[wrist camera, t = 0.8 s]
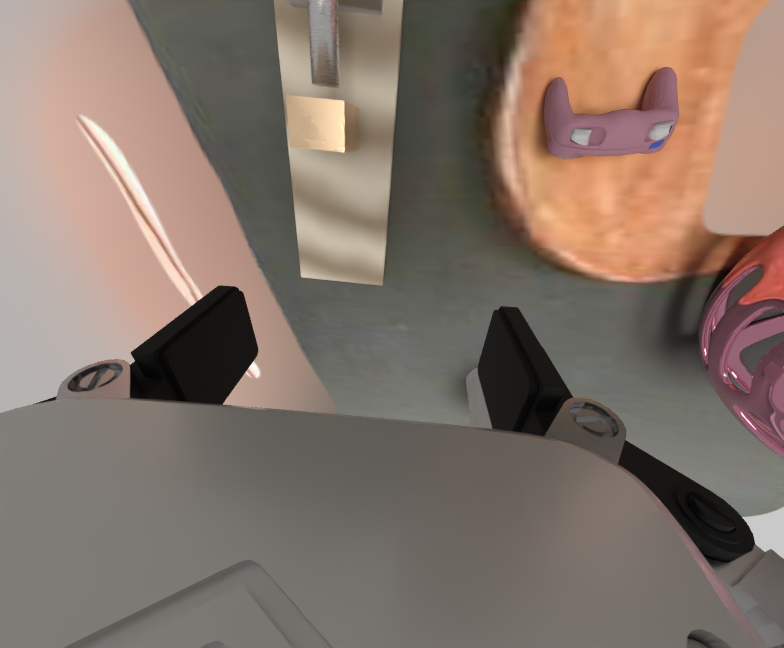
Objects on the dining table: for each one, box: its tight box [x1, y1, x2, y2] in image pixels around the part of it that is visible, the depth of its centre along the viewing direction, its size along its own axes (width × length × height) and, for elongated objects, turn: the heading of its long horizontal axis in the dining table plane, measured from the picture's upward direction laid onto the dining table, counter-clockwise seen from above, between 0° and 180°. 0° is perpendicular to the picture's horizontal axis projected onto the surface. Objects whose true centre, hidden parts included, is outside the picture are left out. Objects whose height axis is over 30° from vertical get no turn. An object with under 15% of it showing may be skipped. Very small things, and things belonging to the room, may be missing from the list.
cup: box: [466, 367, 492, 429], centre depth 39 cm, size 8×8×12 cm
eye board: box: [274, 0, 404, 286], centre depth 23 cm, size 32×10×10 cm, turn 175°
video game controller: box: [544, 67, 679, 159], centre depth 24 cm, size 10×5×7 cm, turn 94°
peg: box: [285, 0, 359, 152], centre depth 19 cm, size 16×4×6 cm, turn 175°
